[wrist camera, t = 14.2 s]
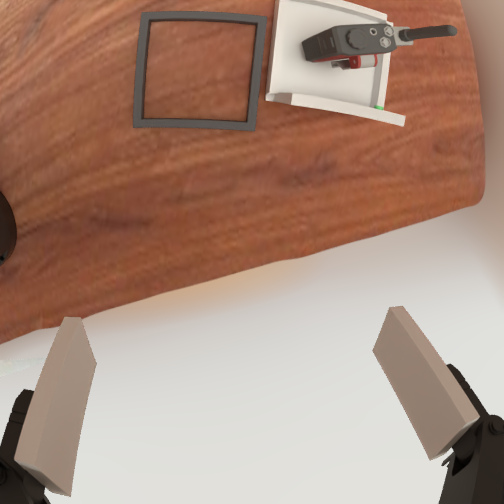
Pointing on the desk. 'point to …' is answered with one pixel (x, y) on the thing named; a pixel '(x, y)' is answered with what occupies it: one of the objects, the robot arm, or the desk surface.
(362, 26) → the walkie-talkie
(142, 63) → the grey square frame
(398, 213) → the desk surface
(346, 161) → the desk surface
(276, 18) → the dock
